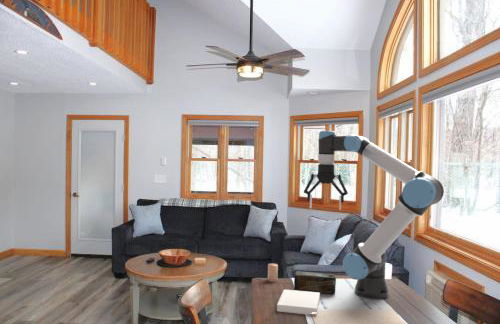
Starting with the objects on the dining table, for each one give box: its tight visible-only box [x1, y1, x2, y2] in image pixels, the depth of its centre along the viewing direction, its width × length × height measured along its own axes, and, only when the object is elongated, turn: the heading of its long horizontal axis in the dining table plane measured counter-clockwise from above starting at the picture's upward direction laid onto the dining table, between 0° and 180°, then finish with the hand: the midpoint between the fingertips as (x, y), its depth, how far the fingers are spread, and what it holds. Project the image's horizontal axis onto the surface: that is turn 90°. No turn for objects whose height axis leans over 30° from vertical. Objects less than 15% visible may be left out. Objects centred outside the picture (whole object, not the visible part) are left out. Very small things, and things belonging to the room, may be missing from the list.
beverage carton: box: [293, 271, 337, 295], centre depth 194 cm, size 8×19×7 cm
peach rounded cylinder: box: [267, 263, 279, 283], centre depth 210 cm, size 5×5×8 cm
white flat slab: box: [276, 288, 321, 315], centre depth 175 cm, size 16×20×3 cm
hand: (325, 209), depth 194 cm, fingers open, 13 cm apart
